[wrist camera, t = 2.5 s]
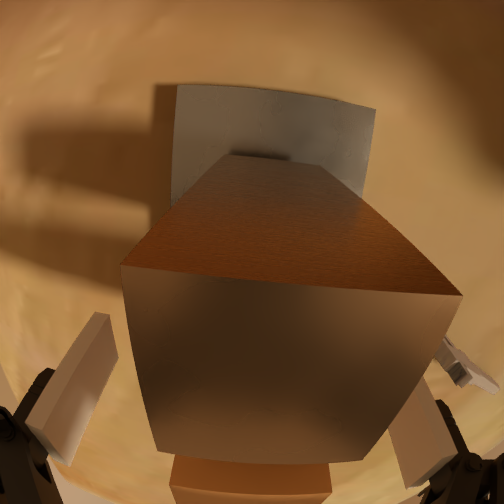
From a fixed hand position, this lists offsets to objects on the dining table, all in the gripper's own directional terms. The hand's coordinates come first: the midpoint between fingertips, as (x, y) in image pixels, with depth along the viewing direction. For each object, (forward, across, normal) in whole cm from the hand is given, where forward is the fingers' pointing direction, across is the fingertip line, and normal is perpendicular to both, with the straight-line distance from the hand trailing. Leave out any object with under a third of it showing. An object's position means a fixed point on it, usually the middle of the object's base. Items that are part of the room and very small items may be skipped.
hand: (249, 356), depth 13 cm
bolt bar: (+5, 0, -4) cm, 7 cm away
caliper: (+6, +20, -6) cm, 22 cm away
